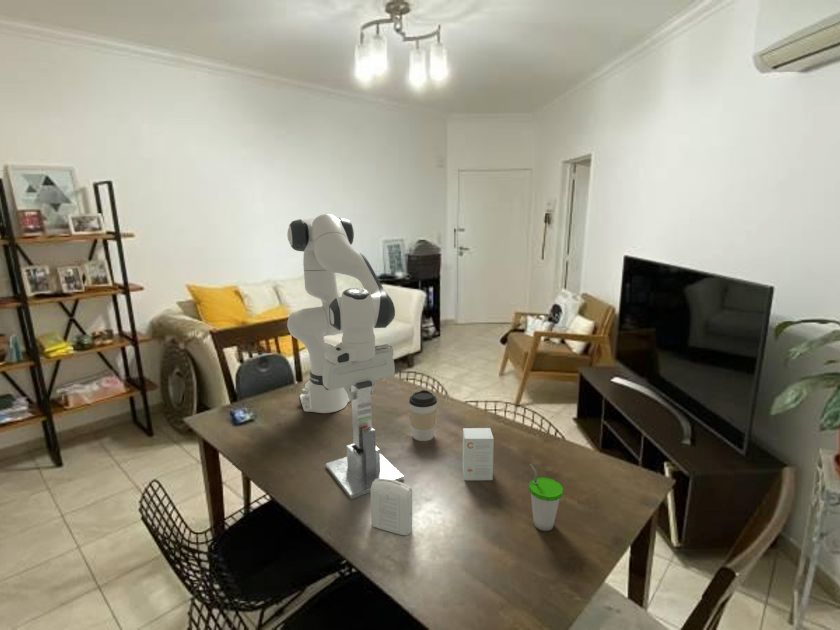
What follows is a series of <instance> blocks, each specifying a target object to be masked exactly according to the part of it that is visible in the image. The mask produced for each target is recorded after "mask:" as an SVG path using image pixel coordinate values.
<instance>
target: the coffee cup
mask: <svg viewBox="0 0 840 630" xmlns="http://www.w3.org/2000/svg"><path fill="white" fill-rule="evenodd" d="M408 400H409V407H410V408H409V411H410V413H409V414H410V424H411V425H410V426H411V431H412V437H413V439H414V440H416V441H420V442H428V441H430V440H431V441H432V439H433V438H434V435H435V425H436V416H437V415H436V414H437V403H438V402H437V396H435V395H434V394H433V393H432V392H430V391H429V390H427V389H426V390H425V389H423V390H420V391H416V392H414V393H413V394H412V395H411V396H410V397H409V399H408Z"/></svg>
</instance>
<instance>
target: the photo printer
mask: <svg viewBox="0 0 840 630" xmlns="http://www.w3.org/2000/svg"><path fill="white" fill-rule="evenodd" d="M370 521H371V522H370V524H371V526H372V527H374V528H377V529H379V530H383V531H386V532H390V533H393V534H395V535H396V534H397V535H401V536H408V535H410V534H411V533H412V531H413V489H412V487H411V486H409V485H408V484H405V483H404V482H402V481H399V482H398V481H395V480H391V479H375V480H374V481H373V482H372V485H371V492H370Z"/></svg>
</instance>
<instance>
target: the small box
mask: <svg viewBox="0 0 840 630" xmlns="http://www.w3.org/2000/svg"><path fill="white" fill-rule="evenodd" d="M494 440H495V438H494V435H493V433H492V430H491V427H470V428H469V427H467V428H466V427H465V428H464V427H463V428H462V473H463V480H464V481H493V479H494V477H493V474H494V443H495V442H494Z"/></svg>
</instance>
